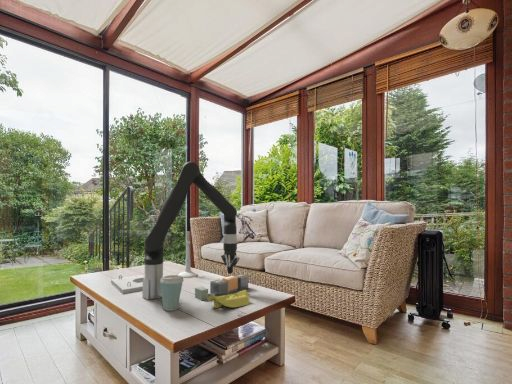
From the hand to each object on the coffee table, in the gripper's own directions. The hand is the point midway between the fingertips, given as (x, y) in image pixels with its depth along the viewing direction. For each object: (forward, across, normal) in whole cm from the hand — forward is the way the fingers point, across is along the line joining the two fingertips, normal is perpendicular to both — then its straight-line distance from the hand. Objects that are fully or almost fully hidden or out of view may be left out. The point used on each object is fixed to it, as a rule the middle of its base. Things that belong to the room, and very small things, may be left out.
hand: (230, 273), depth 164 cm
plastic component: (+10, +15, -15) cm, 24 cm away
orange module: (+8, 0, 0) cm, 9 cm away
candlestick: (+10, -47, +5) cm, 48 cm away
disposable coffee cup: (+10, -1, -36) cm, 38 cm away
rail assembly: (+10, 0, -1) cm, 10 cm away
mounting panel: (+11, -50, -25) cm, 57 cm away
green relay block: (+10, -3, -18) cm, 20 cm away
